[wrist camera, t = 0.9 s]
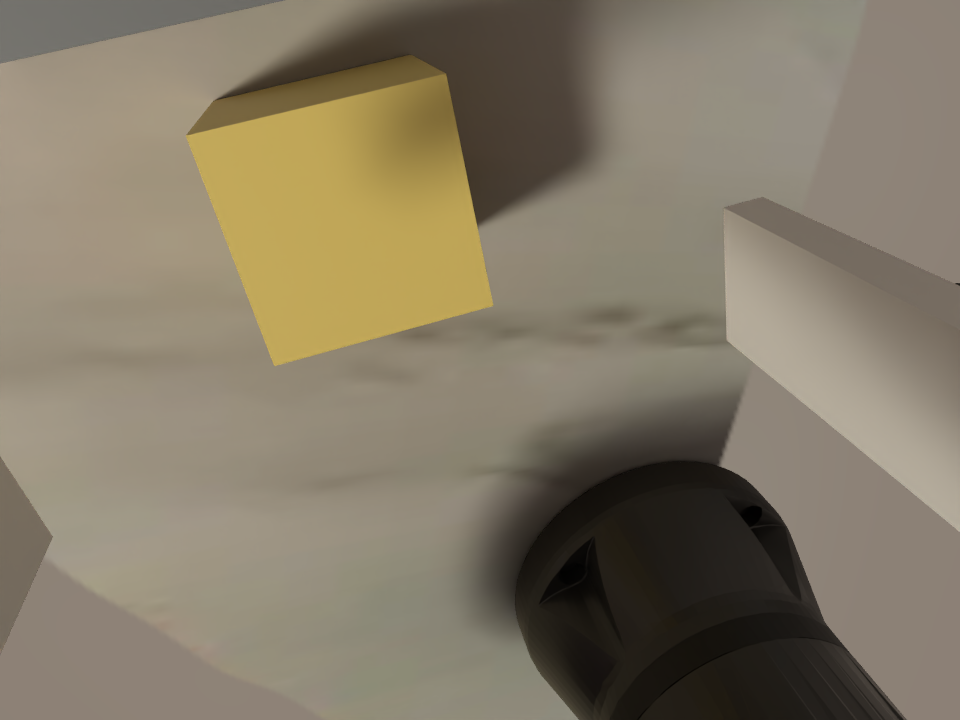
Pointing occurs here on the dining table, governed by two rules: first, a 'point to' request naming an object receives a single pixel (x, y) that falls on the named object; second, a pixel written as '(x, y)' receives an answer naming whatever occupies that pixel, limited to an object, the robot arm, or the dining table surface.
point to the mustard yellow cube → (344, 205)
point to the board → (95, 21)
